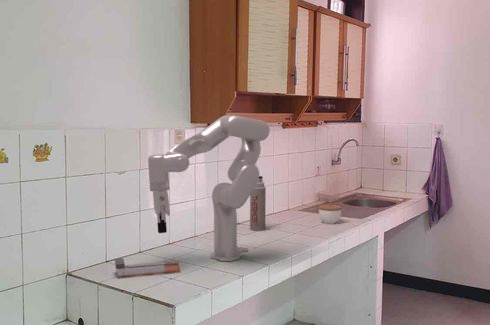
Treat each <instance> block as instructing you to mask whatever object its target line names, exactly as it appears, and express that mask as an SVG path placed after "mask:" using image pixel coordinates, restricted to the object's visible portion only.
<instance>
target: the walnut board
mask: <svg viewBox="0 0 490 325" xmlns="http://www.w3.org/2000/svg"><path fill="white" fill-rule="evenodd" d="M128 265H129V264H127V265H125V268H128ZM115 270H116V272H117V269H116V268H115ZM169 274H170V275H171V274H173V275H174V274H182V270H180V268H179V269H178V272H169V273H157V274H147V275H136V276H125V277H118V276H117V279H127V278H129V279H130V278H139V277H150V276H159V275H161V276H162V275H169Z"/></svg>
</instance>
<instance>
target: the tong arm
mask: <svg viewBox="0 0 490 325" xmlns="http://www.w3.org/2000/svg"><path fill="white" fill-rule="evenodd" d="M167 264H177V265H178V269H180V262H179V260H172V261H171V260H169V261H160V262H158V261H157V262H149V263H148V262H146V263H133V264H127V265H128V268H134V267H145V266H156V265H167Z"/></svg>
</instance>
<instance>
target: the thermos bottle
mask: <svg viewBox="0 0 490 325" xmlns="http://www.w3.org/2000/svg"><path fill="white" fill-rule="evenodd" d="M263 179H264V178H263V176H260V175H259V180H258V182H257V184H256V186H255V188H254V189H253V191H252V193H251V194H250V196H249V219H250V221H249V230H250V231H252V230H253V232H263V231H266V199H267V197H266V186H265V182H264V181H263Z"/></svg>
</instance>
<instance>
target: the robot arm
mask: <svg viewBox="0 0 490 325" xmlns="http://www.w3.org/2000/svg"><path fill="white" fill-rule="evenodd" d="M270 129H271V128H270V126H269V124H268V123H267V122H265V121H264V120H260V119H255V118H249V117H245V116H241V115H233V114H230V115H227V114H226V115H223V116H221V117H219V118H218V119H216V120H214V122H212V123H211V124H209V125H208V126H206V127H205V128H204V129H202V130H200V131H199V132H198V133H196V134H194V135H192V136H191V137H189V138H186V139H185V140H183V141H181V142H180V143H178V144H177V145H175V146H173V147H172V148H171V149H170V150H168V151H167V152H165V154H162V153H159V154H151V155H149V156H148V159H147V164H148V165H147V166H148V180H149V181H148V182H149V191H150V192H152V199H153V210H154V213H155V215H156V217H157V224H156V225H157V232H158V234H165V233H167V218H166V216H168V217H169V216H170V214H171V212H170V202H169V194H168V191H169V190H170V175H169V174H170V173H183V172H185V171H187V170H188V168H189V167H190V159H191V158H192V157H194V156H196V155H200V154H204V153H207V152H210V151H212V150H214V149H215V148H216V147H217V146H219V145H220V144H221V143H223V142H224V141H225V140H227V139H228V138H229V137H235V138H240V139H241V145H240V146H241V147H240V148H239V152H238V153H237V155H236V156H235V158H234V159H233V161H232V163H231V164H230V166H229V167H228V170H227V178H228V180H230V181H231V182H232V183H229V182H220V183H217V184H216V185H215V186H214V187H213V190H212V194H211V199H212V205H213V252H212V253H211V254H210V259H211V260H213V261H216V262H234V261H237V260H239V259H241V254H242V253H249V252H248V251H249V248H248V247H243V246H240V247H239V246H238V245H237V244H238V240H237V239H238V231H237V230H238V229H237V228H238V223H237V222H238V215H237V214H238V212H237V210H238V209H241V208H242V207H243V206H244V205H245V204H246V203H247V200H248V199H250V194H251V193H252V191H253V189H254V188H255V186H256V184H257V182H258V180H259V176H260V170H259V168H258V166H257V165H256V164H257V161H258V159H259V157H260V155H261V151H262V150H261V147H262V146H261V143H260V142H262V141H263V142H264V141H265V140H266V139H267V138H268V137H269V136H270Z"/></svg>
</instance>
